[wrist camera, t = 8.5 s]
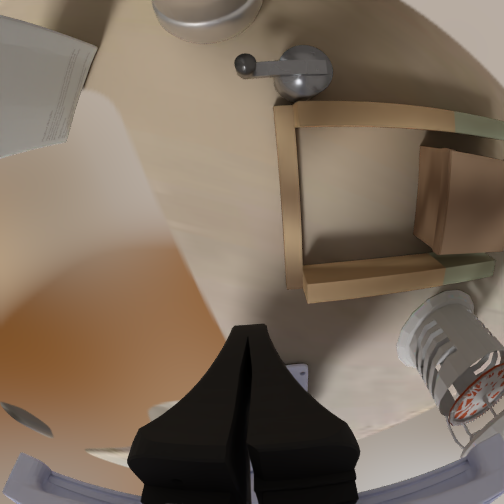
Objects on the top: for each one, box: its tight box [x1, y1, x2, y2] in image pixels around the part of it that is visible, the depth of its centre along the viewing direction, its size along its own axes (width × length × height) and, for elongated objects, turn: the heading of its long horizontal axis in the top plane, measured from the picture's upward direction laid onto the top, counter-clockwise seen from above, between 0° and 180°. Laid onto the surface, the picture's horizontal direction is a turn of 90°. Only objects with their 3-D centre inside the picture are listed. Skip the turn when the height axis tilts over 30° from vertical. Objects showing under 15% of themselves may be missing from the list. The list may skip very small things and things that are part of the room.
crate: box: [413, 146, 504, 255], centre depth 18 cm, size 7×7×4 cm
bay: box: [273, 101, 504, 304], centre depth 19 cm, size 13×18×3 cm
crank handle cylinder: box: [234, 45, 333, 102], centre depth 15 cm, size 3×5×6 cm, turn 95°
